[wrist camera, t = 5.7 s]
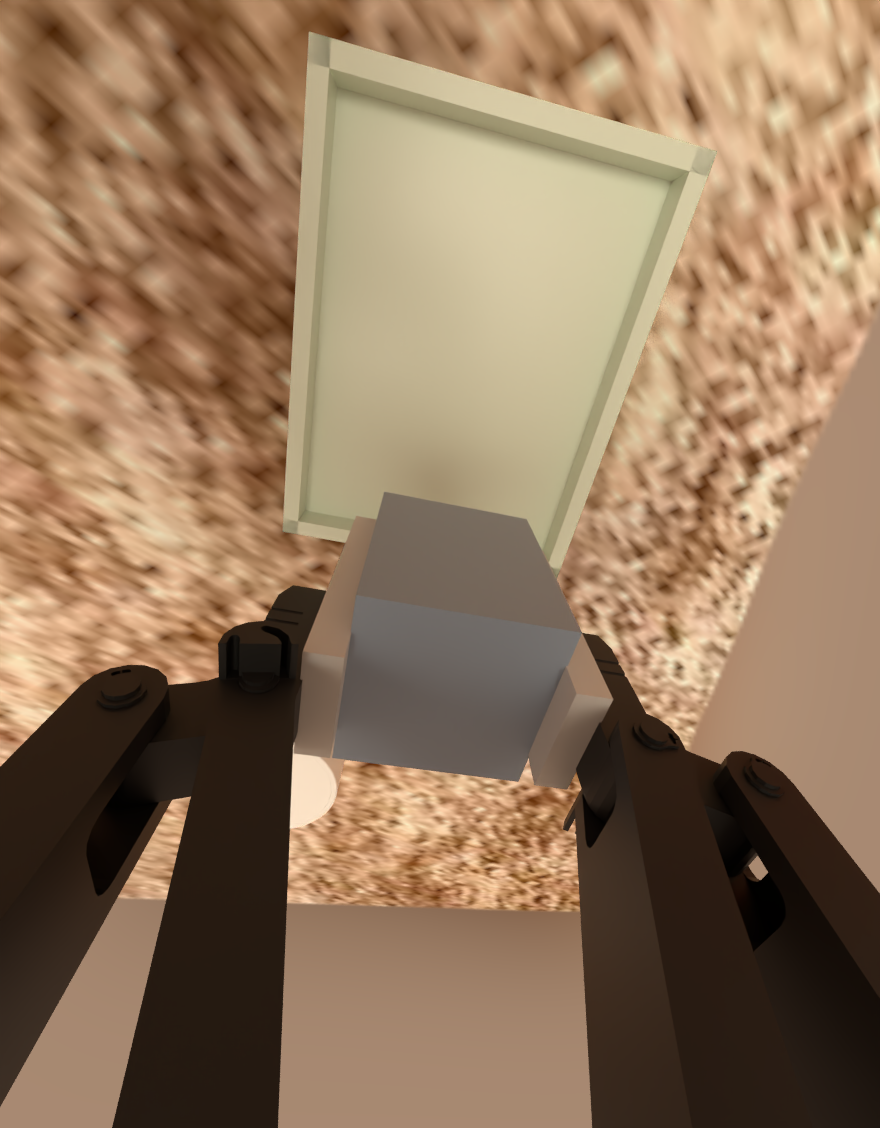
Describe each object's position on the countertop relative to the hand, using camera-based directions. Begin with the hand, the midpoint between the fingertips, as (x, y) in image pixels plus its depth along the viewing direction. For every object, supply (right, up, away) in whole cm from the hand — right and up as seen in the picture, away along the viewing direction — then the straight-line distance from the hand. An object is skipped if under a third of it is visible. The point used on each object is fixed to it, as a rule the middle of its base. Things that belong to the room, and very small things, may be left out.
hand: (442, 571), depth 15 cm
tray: (+1, +10, +9) cm, 14 cm away
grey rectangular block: (0, 0, 0) cm, 0 cm away
